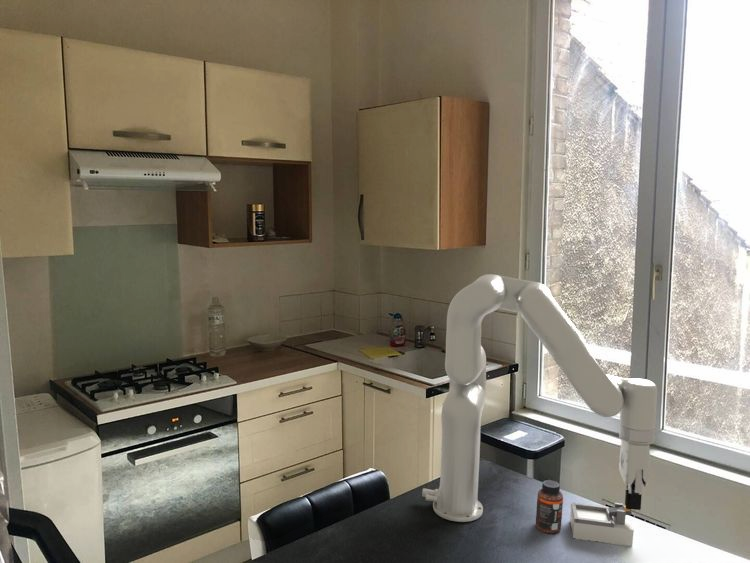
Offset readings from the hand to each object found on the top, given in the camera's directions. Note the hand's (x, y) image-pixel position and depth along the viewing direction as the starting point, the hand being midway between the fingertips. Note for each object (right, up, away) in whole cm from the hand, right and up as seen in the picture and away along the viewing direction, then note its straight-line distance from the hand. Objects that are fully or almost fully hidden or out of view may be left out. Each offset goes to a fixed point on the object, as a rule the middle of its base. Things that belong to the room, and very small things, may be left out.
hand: (632, 507), depth 144 cm
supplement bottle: (-19, -7, +4) cm, 20 cm away
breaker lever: (-3, -1, +1) cm, 3 cm away
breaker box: (-7, -7, +2) cm, 10 cm away
